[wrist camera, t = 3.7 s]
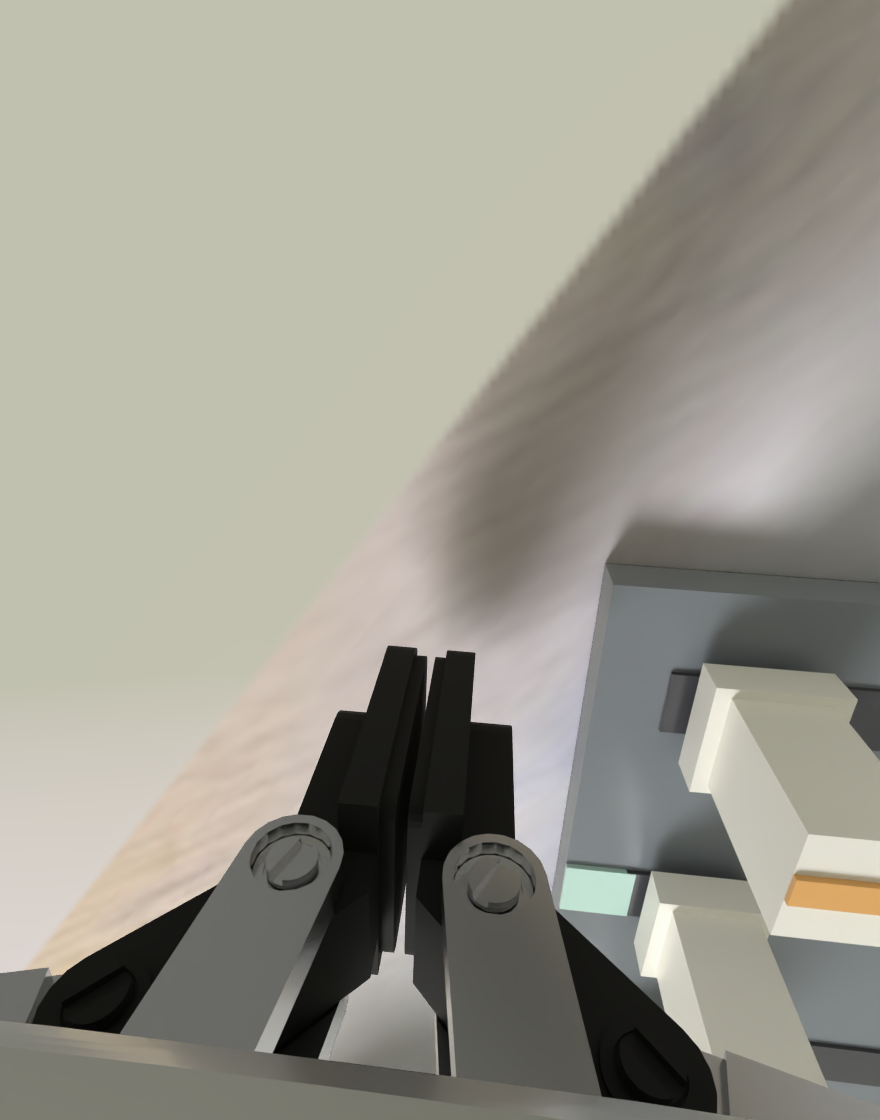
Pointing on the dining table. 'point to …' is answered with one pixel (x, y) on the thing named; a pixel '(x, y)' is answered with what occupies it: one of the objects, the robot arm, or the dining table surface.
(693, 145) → the dining table surface
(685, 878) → the slider
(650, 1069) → the robot arm
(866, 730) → the switch board
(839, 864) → the slider
